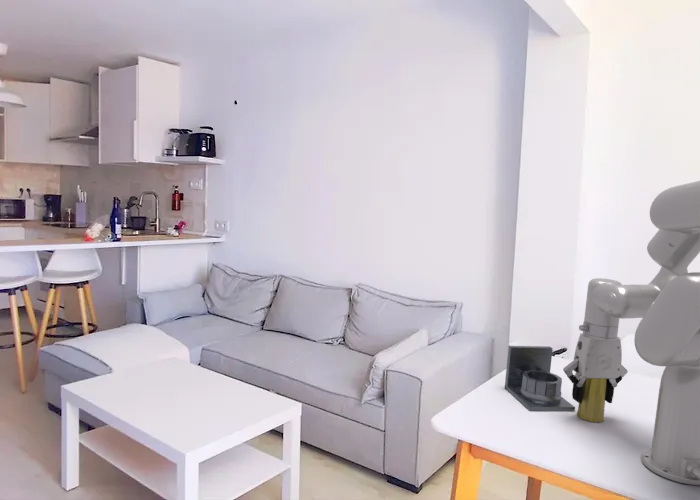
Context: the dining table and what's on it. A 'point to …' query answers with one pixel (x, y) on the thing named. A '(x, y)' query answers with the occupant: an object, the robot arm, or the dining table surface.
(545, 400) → the cup bracket
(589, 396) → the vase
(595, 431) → the dining table surface
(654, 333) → the robot arm
